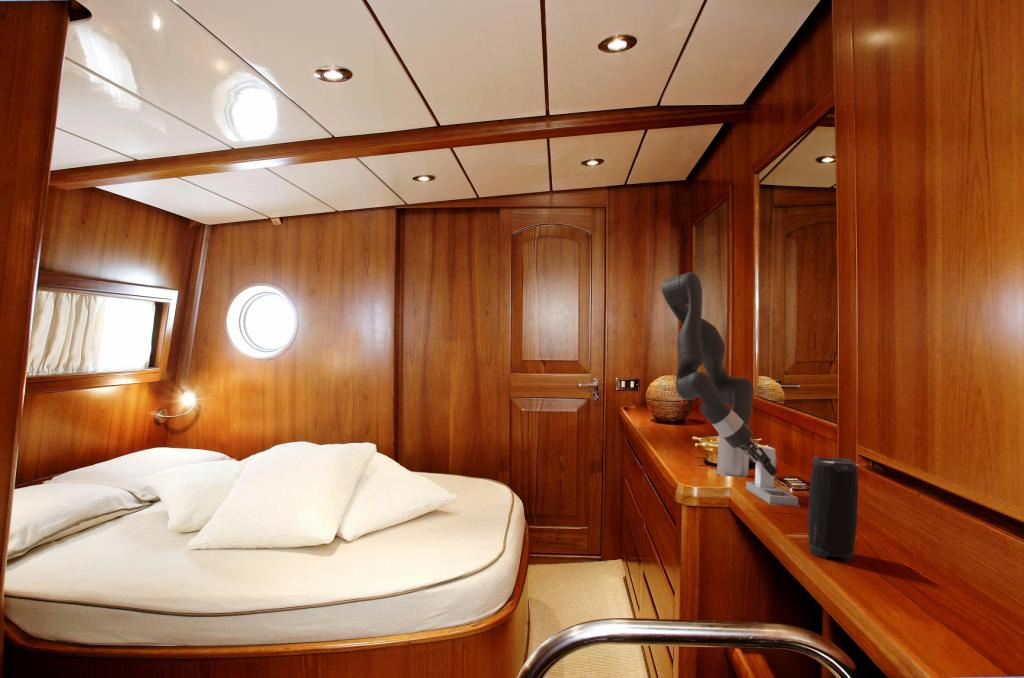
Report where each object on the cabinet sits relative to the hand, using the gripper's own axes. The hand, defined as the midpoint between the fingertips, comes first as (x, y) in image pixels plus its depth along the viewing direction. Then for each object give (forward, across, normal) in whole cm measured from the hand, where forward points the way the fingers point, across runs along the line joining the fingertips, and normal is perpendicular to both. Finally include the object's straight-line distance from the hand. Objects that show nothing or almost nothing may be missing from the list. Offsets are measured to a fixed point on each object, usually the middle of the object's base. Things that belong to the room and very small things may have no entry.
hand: (771, 471), depth 160 cm
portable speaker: (-1, -48, +11) cm, 49 cm away
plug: (+3, 0, +6) cm, 6 cm away
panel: (+4, -4, +6) cm, 9 cm away
